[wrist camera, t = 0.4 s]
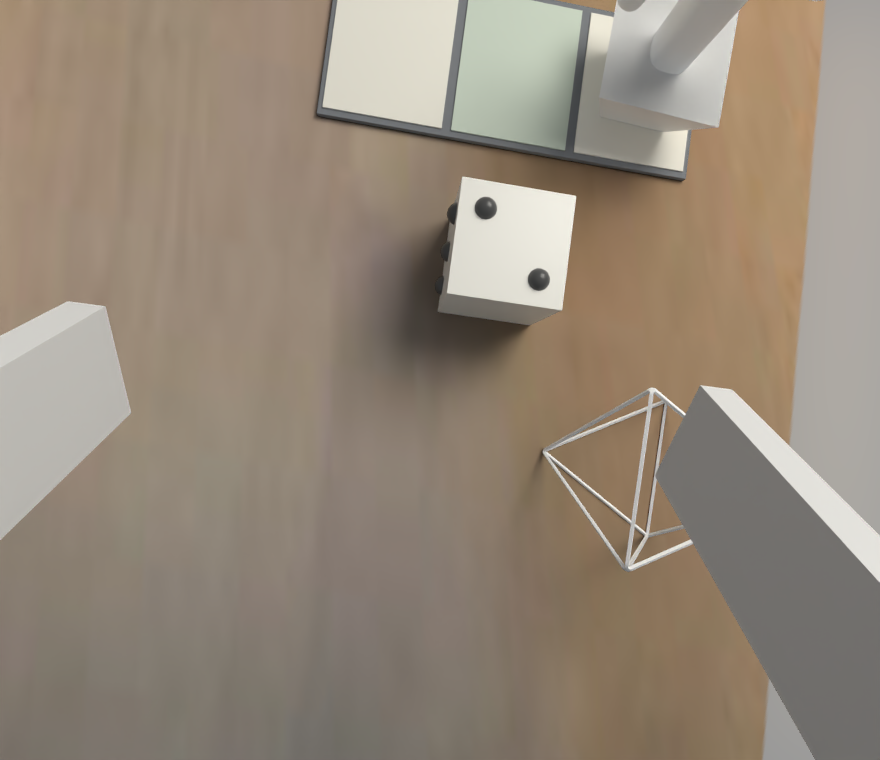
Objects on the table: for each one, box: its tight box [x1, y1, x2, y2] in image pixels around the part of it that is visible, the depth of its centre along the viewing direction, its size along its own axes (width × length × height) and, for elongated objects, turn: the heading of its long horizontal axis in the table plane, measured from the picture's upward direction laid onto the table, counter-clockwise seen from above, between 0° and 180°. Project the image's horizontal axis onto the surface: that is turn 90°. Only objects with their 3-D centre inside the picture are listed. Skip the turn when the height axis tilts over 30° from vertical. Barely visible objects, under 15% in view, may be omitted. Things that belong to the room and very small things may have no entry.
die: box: [435, 176, 576, 325], centre depth 26 cm, size 6×6×6 cm
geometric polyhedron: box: [543, 388, 693, 572], centre depth 26 cm, size 10×9×8 cm
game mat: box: [317, 0, 691, 181], centre depth 30 cm, size 10×24×1 cm, turn 82°
